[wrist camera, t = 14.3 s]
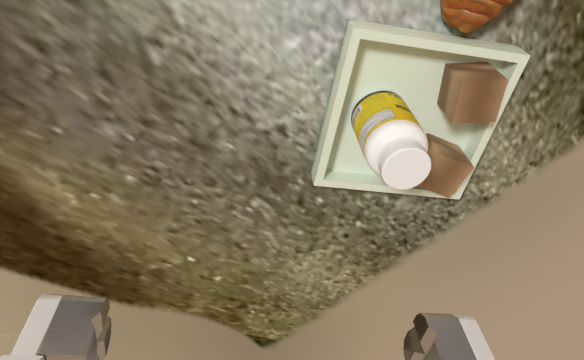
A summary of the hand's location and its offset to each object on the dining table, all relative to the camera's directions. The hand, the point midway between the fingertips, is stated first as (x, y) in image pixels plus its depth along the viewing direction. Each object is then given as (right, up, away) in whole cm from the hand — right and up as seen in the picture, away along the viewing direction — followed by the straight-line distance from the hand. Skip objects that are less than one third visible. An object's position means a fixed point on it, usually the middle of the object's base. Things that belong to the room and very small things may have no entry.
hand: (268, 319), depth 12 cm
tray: (+12, +10, +32) cm, 36 cm away
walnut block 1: (+17, +13, +30) cm, 37 cm away
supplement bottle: (+9, +10, +31) cm, 34 cm away
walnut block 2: (+15, +6, +35) cm, 38 cm away
